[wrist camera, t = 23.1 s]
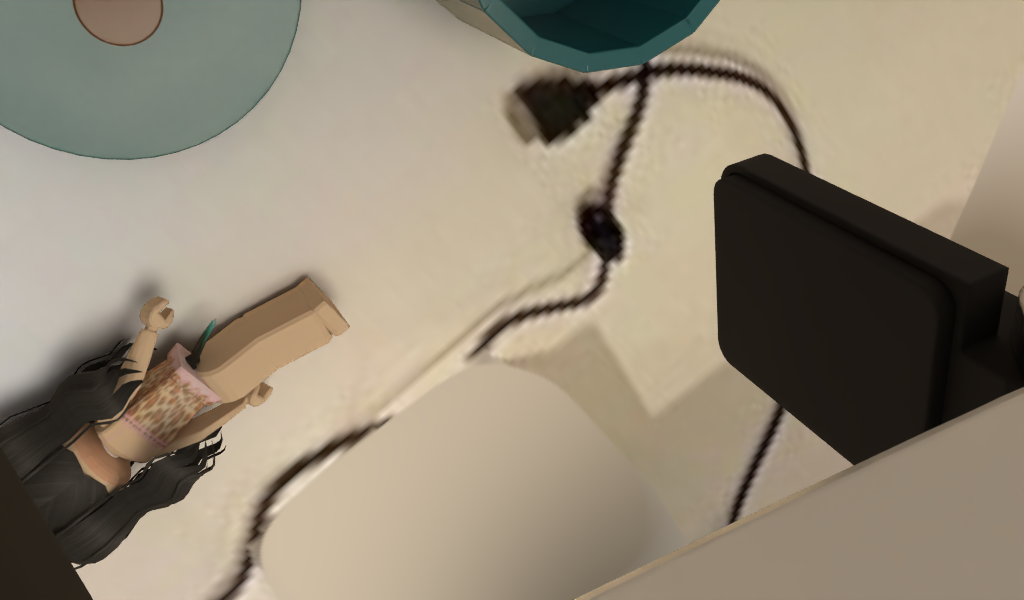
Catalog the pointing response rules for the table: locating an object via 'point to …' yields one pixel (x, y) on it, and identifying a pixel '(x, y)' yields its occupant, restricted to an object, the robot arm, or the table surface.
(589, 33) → the pot
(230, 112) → the lid
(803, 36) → the table surface
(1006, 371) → the robot arm
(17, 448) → the toy figure
